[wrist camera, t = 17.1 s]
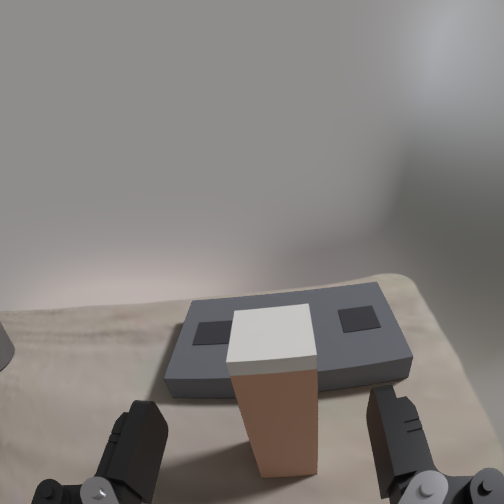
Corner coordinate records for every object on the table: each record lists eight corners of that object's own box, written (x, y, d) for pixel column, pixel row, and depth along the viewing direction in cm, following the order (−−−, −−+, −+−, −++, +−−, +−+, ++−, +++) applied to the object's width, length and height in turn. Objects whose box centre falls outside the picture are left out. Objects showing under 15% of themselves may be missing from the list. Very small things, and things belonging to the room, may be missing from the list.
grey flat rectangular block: (172, 397, 30) (163, 377, 29) (197, 318, 43) (192, 300, 42) (408, 377, 28) (413, 355, 26) (375, 301, 40) (376, 281, 39)
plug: (261, 477, 21) (226, 362, 15) (263, 435, 25) (234, 310, 19) (317, 474, 20) (316, 354, 15) (313, 432, 24) (308, 303, 19)
